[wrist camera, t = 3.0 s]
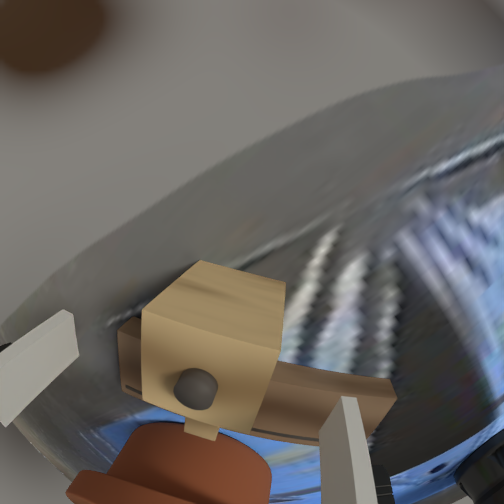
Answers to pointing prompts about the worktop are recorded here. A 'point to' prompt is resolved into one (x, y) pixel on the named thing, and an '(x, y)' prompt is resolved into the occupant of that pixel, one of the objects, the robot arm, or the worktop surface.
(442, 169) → the worktop surface
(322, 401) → the board
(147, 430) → the potted cactus
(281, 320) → the tan wooden block
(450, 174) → the worktop surface
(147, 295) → the worktop surface
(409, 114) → the worktop surface
